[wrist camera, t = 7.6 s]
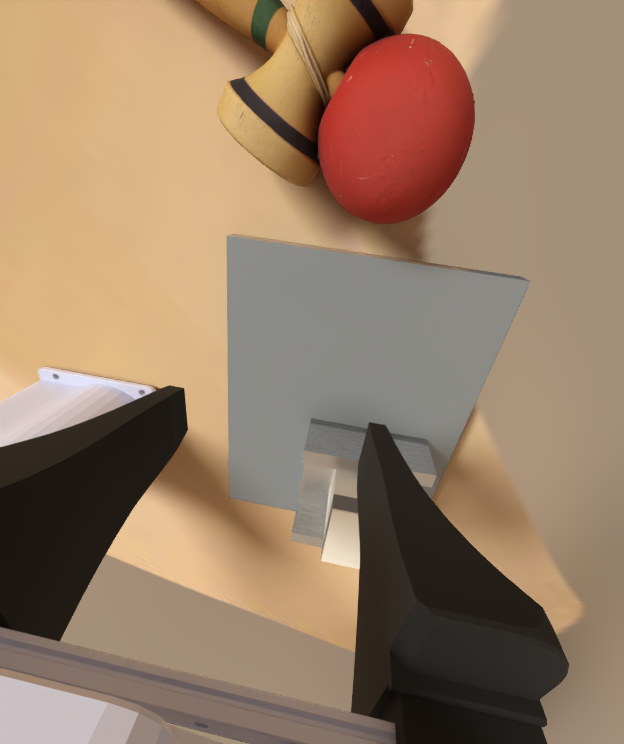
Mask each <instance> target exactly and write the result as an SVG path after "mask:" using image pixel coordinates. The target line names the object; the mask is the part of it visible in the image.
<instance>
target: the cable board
mask: <svg viewBox="0 0 624 744" xmlns="http://www.w3.org/2000/svg"><path fill="white" fill-rule="evenodd" d="M529 284H530V281H529V280H527V279H525V278H522V277H520V276H513V275H506V274H499V273H493V272H486V271H480V270H473V269H466V268H460V267H453V266H446V265H439V264H433V263H426V262H419V261H413V260H406V259H399V258H392V257H386V256H379V255H372V254H366V253H359V252H352V251H345V250H339V249H332V248H325V247H319V246H312V245H305V244H298V243H292V242H285V241H278V240H272V239H265V238H258V237H251V236H245V235H238V234H232V235H228V236H227V320H228V425H229V498H233V499H238V500H243V501H248V502H252V503H257V504H262V505H267V506H272V507H277V508H282V509H287V510H292V511H296V510H297V506H298V501H299V494H300V487H301V481H302V474H303V467H304V463H302V459H303V452H304V447H305V443H306V438H307V434H308V430H309V426H310V421H311V418H314V419H319V420H325V421H330V422H335V423H341V424H346V425H352V426H357V427H362V428H368V424H369V422H371V423H376V424H382V425H386V427H387V428H388V430H389V432H390V433H395V434H400V435H406V436H411V437H417V438H422V439H427V443H428V446H429V450H430V453H431V457H432V460H433V464H434V467H435V471H436V474H437V477H436V479H435V481H434V484H433V486H432V488H431V487H426V486H422V487H423V489H424V490H425V492H426V493H427V494H428V496H429V497H430V498H431V499H432V497H433V495H434V493H435V491H436V488H437V486H438V484H439V482H440V480H441V477H442V475H443V473H444V471H445V469H446V466H447V464H448V462H449V460H450V458H451V455H452V453H453V451H454V449H455V447H456V444H457V442H458V440H459V438H460V436H461V433H462V431H463V429H464V427H465V424H466V422H467V420H468V418H469V416H470V413H471V411H472V409H473V407H474V405H475V402H476V400H477V398H478V396H479V393H480V391H481V389H482V387H483V385H484V382H485V380H486V378H487V376H488V374H489V371H490V369H491V367H492V365H493V363H494V361H495V358H496V356H497V354H498V352H499V349H500V347H501V345H502V343H503V341H504V339H505V336H506V334H507V332H508V330H509V327H510V325H511V323H512V321H513V319H514V317H515V314H516V312H517V310H518V307H519V306H520V303H521V301H522V299H523V297H524V294H525V292H526V290H527V288H528V286H529Z"/></svg>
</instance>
